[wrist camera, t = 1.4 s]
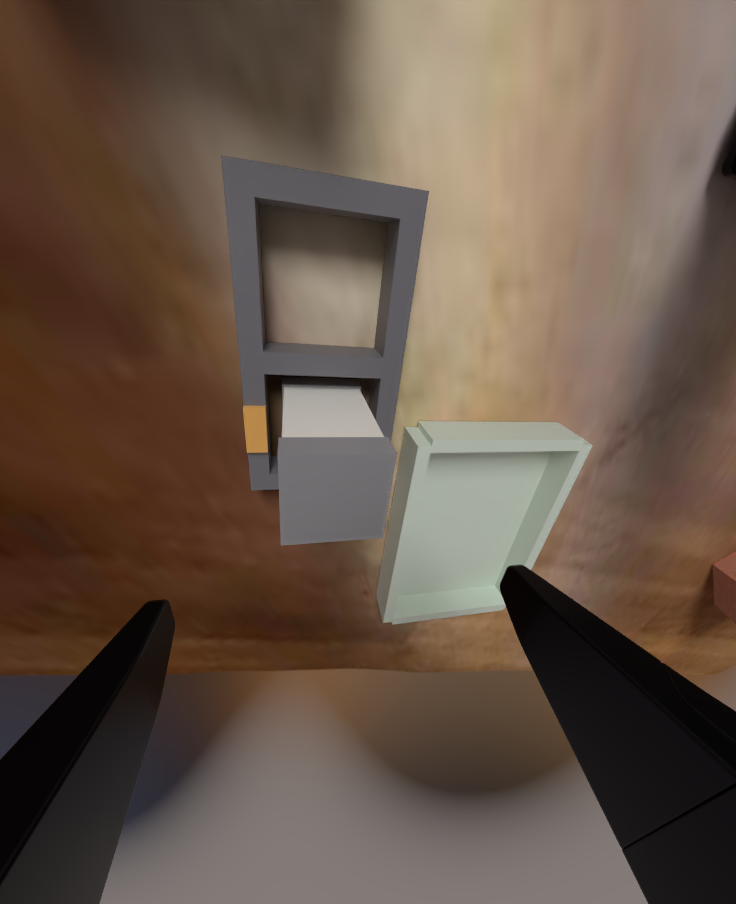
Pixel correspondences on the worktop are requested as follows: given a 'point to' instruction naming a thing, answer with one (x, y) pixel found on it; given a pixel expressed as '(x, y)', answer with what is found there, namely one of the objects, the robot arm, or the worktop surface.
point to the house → (725, 585)
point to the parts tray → (471, 512)
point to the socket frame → (259, 358)
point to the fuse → (331, 463)
